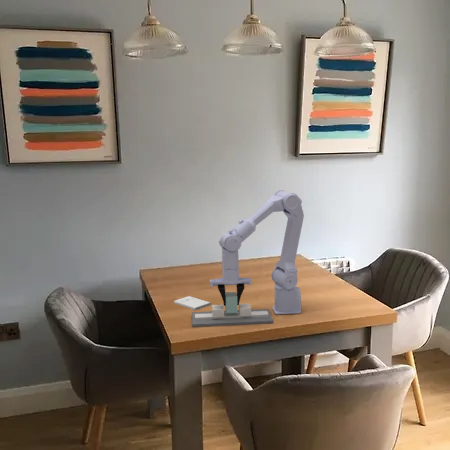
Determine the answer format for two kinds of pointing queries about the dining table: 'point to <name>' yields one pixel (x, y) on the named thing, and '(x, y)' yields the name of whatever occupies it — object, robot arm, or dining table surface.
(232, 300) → the block
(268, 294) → the dining table surface
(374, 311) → the dining table surface
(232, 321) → the rail board
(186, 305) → the external hard drive
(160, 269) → the dining table surface
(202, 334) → the dining table surface
